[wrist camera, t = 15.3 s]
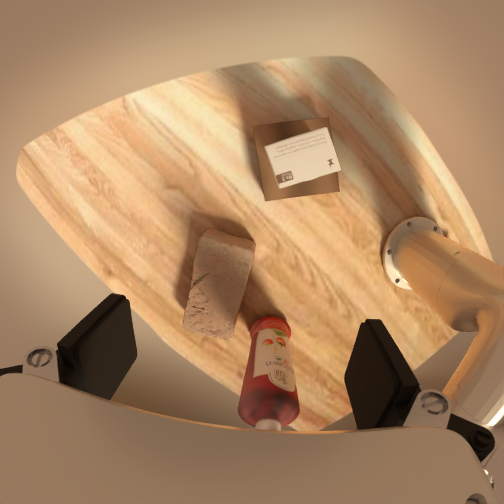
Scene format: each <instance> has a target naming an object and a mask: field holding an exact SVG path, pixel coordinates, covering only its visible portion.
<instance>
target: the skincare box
mask: <svg viewBox="0 0 504 504" xmlns="http://www.w3.org/2000/svg"><path fill="white" fill-rule="evenodd" d="M264 148H265V151H266V154H267V157H268V159H269V162H270V165H271V168H272V170H273V173H274V176H275V179H276V182H277V185H278V188H284V187H287V186H290V185H294V184H297V183H300V182H303V181H309V180H312V179H315V178H317V177H320V176H323V175H327V174H330V173H333V172H337V171H340V170H341V166H340V164H339V161H338V158H337V155H336V152H335V149H334V146H333V143H332V140H331V137H330V134H329V131H328V128H327V127H323V128H320V129H316V130H313V131H310V132H306V133H303V134H300V135H297V136H293V137H290V138H287V139H284V140H281V141H278V142H275V143H273V144H270V145H267V146H265V147H264Z"/></svg>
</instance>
